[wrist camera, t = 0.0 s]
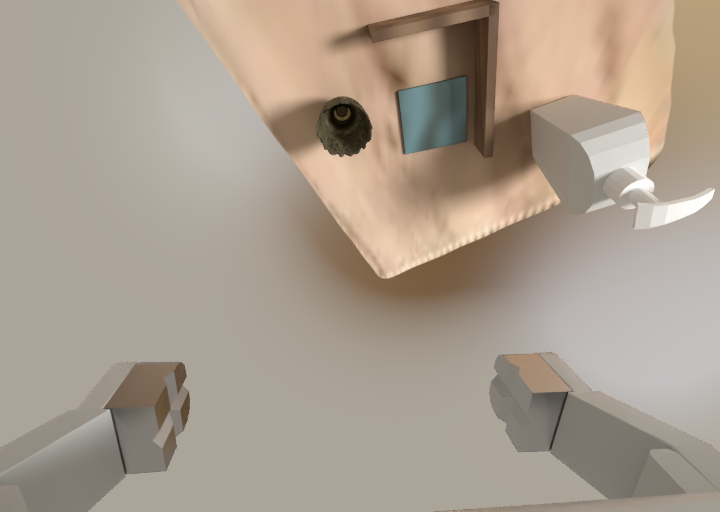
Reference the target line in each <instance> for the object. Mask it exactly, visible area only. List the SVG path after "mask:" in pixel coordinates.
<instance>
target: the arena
mask: <svg viewBox="0 0 720 512" xmlns="http://www.w3.org/2000/svg"><path fill="white" fill-rule="evenodd" d="M475 19H476V53H475V138H474V145H475V146H476V147H477V149H478V150H479V151H480V153H481V154H482V155H483V156H484V158H487V157H491V156H492V154H493V132H494V110H495V88H496V66H497V44H498V22H499V2H496V1H493V0H473V1H469V2H465V3H460V4H456V5H452V6H447V7H443V8H439V9H434V10H430V11H426V12H421V13H417V14H413V15H408V16H404V17H400V18H395V19H391V20H387V21H382V22H378V23H374V24H369V25H367V26H368V33H369V36H370V38H371V40H372V42H373V43H375V42H379V41H383V40H388V39H392V38H397V37H401V36H405V35H410V34H414V33H418V32H423V31H427V30H432V29H436V28H440V27H445V26H449V25H454V24H458V23H462V22H467V21H471V20H475ZM398 96H399V105H400V113H401V122H402V131H403V139H404V148H405V154H410V153H414V152H419V151H424V150H429V149H433V148H438V147H443V146H448V145H453V144H457V143H462V142H467V87H466V76H463V77H458V78H454V79H449V80H444V81H440V82H435V83H431V84H426V85H422V86H417V87H413V88H408V89H404V90H399V91H398Z"/></svg>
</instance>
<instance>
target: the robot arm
mask: <svg viewBox="0 0 720 512" xmlns="http://www.w3.org/2000/svg"><path fill="white" fill-rule="evenodd" d="M494 368H495V370H496V372H497V373H498V375H497V376H496V377H495V378H494V379H493V380H492V381H491V386H490V401H491V405H492V408H493V410H494V412H495V414H496V416H497V417H498V418H499V419H501V420H502V421H504V422H505V423H507V425H506V430H505V431H506V433H507V435H508V436H509V438H510V440H511V441H512V443H513V445H514V446H515V448H516V450H517V451H518V452H538V451H551V454H552V455H554V456H555V457H556V458H557V459H559V460H560V461H561V462H562V463H564V464H565V465H566V466H567V467H569V468H570V469H571V470H573V471H574V472H575V473H576V474H577V475H579V476H580V477H581V478H582V479H584V480H585V481H586V482H587V483H589V484H590V485H591V486H593V487H594V488H595V489H596V490H598V491H599V492H600V493H601V494H603V495H604V496H605V497H606V498H608V499H606V500H593V501H578V502H566V503H552V504H537V505H523V506H508V507H494V508H479V509H466V510H465V509H464V510H451V511H436V512H720V452H718V451H717V450H716V449H715V448H713V446H712V445H710V444H708V443H706V442H703V441H702V440H699V439H697V438H695V437H693V436H691V435H689V434H687V433H685V432H683V431H681V430H679V429H677V428H675V427H672V426H670V425H668V424H666V423H664V422H662V421H660V420H658V419H655V418H654V417H652V416H650V415H647V414H645V413H643V412H641V411H639V410H637V409H635V408H633V407H631V406H629V405H627V404H625V403H623V402H620V401H618V400H616V399H614V398H612V397H610V396H608V395H606V394H604V393H602V392H600V391H593V390H592V389H591V388H590V387H589V386H588V385H587V384H586V383H585V382H584V381H583V380H582V379H581V378H580V377H579V376H578V375H577V374H576V373H575V372H574V371H573V370H572V369H571V368H570V367H569V366H568V365H567V364H566V363H565V362H564V361H563V360H562V359H561V358H560V357H559V356H558V355H557V354H555V353H552V352H546V353H534V354H513V355H511V354H510V355H498V357H497V359H496V361H495V365H494ZM185 379H186V370H185V365H184V364H183V363H182V362H140V363H138V362H130V363H128V362H127V363H117V364H114V365H113V366H112V367H111V368H110V369H109V370H108V371H107V373H106V374H105V375H104V376H103V378H102V379H101V380H100V381H99V383H98V384H97V385H96V386H95V387H94V389H93V390H92V391H91V392H90V394H89V395H88V396H87V397H86V398H85V400H84V401H83V402H82V403H81V405H80V406H79V407H78V408H77V409H76V410H69V411H67V412H65V413H63V414H61V415H60V416H58V417H56V418H54V419H52V420H50V421H48V422H47V423H45V424H43V425H41V426H39V427H37V428H36V429H34V430H32V431H30V432H28V433H26V434H25V435H23V436H21V437H19V438H17V439H16V440H14V441H12V442H10V443H8V444H7V445H5V446H3V447H1V448H0V512H88V511H89V510H90V509H91V508H92V507H93V506H94V505H95V504H96V503H97V502H98V501H100V500H101V499H102V498H103V497H104V496H105V495H106V494H107V493H108V492H109V491H110V490H111V489H113V488H114V487H115V486H116V485H117V484H118V483H119V482H120V481H121V480H122V479H123V478H125V474H137V473H149V472H161V471H166V470H167V468H168V466H169V463H170V461H171V459H172V456H173V454H174V451H175V449H176V447H177V445H176V438H175V437H176V436H177V435H179V434H180V433H181V432H183V430H184V428H185V425H186V423H187V420H188V415H189V409H190V397H189V391H188V390H187V389H186V388H185V387H184V386H183V383H184V381H185Z"/></svg>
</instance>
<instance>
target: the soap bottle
mask: <svg viewBox="0 0 720 512" xmlns="http://www.w3.org/2000/svg"><path fill="white" fill-rule="evenodd" d="M530 118H531V141H532V157H533V158H534V160H535V162H536V163H537V165H538V166H539V168H540V169H541V171H542V172H543V174H544V176H545V177H546V179H547V180H548V182H549V183H550V185H551V187H552V188H553V190H554V191H555V193H556V194H557V196H558V198H559V199H560V201H561V202H562V204H563V205H564V207H565V208H566V210H567V212H568V213H571V214H574V215H580V214H583V213H587V212H590V211H593V210H597V209H600V208H603V207H606V206H610V205H613V204H616V203H617V204H618V205H619V206H620V207H621V208H624V209H632V208H635V207H636V211H635V217H634V223H633V228H634V230H636V229H646V228H652V227H656V226H660V225H664V224H667V223H669V222H672V221H675V220H678V219H681V218H683V217H685V216H687V215H690V214H692V213H694V212H696V211H697V210H698V209H700V208H701V207H703V206H704V205H705V204H706V203H707V202H709V201H710V200H711V199H712V196H713V193H714V191H715V189H713V188H708V189H706V190H705V191H703V192H702V193H699V194H697V195H695V196H692V197H688V198H684V199H679V200H674V201H670V202H664V203H662V202H661V201H660V200H659V199H657V198H656V197H655V196H653V195H652V193H653V191H654V184H653V182H652V181H651V180H650V179H648V178H647V177H646V173H647V169H648V164H649V160H650V146H649V135H648V130H647V126H646V121H645V119H644V117H643V115H642V113H641V112H640V111H636V110H632V109H628V108H624V107H620V106H616V105H613V104H609V103H605V102H601V101H597V100H593V99H589V98H585V97H581V96H578V95H571V96H568V97H565V98H562V99H559V100H557V101H554V102H551V103H548V104H545V105H542V106H539V107H537V108H534V109H531V110H530Z"/></svg>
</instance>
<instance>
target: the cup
mask: <svg viewBox="0 0 720 512" xmlns="http://www.w3.org/2000/svg"><path fill="white" fill-rule="evenodd" d="M341 106H344V107H346V108H347V114H346V115H345V116H344V117H340V116H338V115H337V112H336V111H337V108H338V107H341ZM371 130H372V124H371V123H370V120H369V117H368V115H367V113H366V112H365V110H364V109H363V107H362V106H361V105H360V104H359V103H358V102H357V101H355V100H354V99H352V98H349V97H336V98H334V99H332V100H330V101H329V102H328V103H327V104H326V105H325V106H324V108H323V110H322V112H321V114H320V117H319V120H318V123H317V137H318V139H320V140H321V142H322V143H323V146H324V149H325V150H328V152H329V153H330V154H331V155H336V154H339V156H340V157H343V156H344V154H346V155H348V156H352V155H353V154H358V153H359V152H360V149H361V148H363V149H365V147H366V143H367V142H369V141H370V140H371V135H372V134H371Z"/></svg>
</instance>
